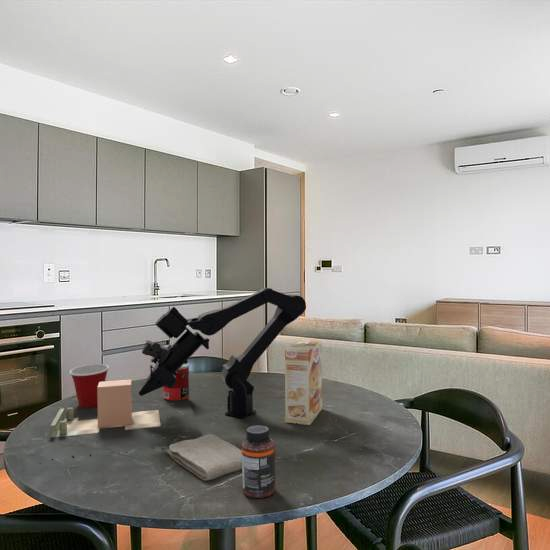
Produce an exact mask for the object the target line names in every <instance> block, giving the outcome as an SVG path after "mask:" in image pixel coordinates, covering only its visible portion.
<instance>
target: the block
mask: <svg viewBox="0 0 550 550" xmlns="http://www.w3.org/2000/svg"><path fill="white" fill-rule="evenodd" d="M132 388H133V387H132V379H121V380H120V379H119V380H118V379H117V380H108V381H106V380H105V381H104V382H99V384H98V387H97V396H98V406H97V419H98V427H107V426H117V425H127V424H132V412H133V411H132V410H133V407H132V406H133V405H132V404H133V403H132V401H133V400H132V399H133V398H132V392H133V391H132Z"/></svg>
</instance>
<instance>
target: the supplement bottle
mask: <svg viewBox="0 0 550 550" xmlns="http://www.w3.org/2000/svg"><path fill="white" fill-rule="evenodd" d="M275 448H276V447H275V442H274V440H273V439H272V438H270V429H269V427H268V426H265V425H251V426H249V427H248V428H247V429H246V438H245V439H244V440H243V441H242V444H241V450H242V469H241V470H242V472H241V475H242V476H241V482H242V485H241V487H242V492H243V494H244V495H245V496H247V497H249V498H254V499H263V498H266V497H269V496H271V495H272V494H274V492H275V491H276V458H275V457H276V455H275V454H276V452H275V451H276V450H275Z"/></svg>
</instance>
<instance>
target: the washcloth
mask: <svg viewBox="0 0 550 550" xmlns="http://www.w3.org/2000/svg"><path fill="white" fill-rule="evenodd" d="M168 448H169V449H167V454H168V455H170V456H169V457H170V458H171V459H173V461H175V462H176V463H178V464H179V465H180V466H182V467H183V468H185V469H186V470H188V471H190V472H191V473H192V474H194V475H195V476H196V477H198V478H200V479H201V480H202V481H211V480H215V479H217V478H220V477H222V476H224V475H227V474H230V473H233V472H234V473H235V472H239V471H240V470H242V449H240V448H238V447H236V446H235V445H234V444H231V443H230V442H228V441H226V440H223V438H220V437H219V436H217V435H215V434H212V433H209V434H204V435H201V436H200V437H197V438H194V439H185V440H181V441H178V442H173V443H171V444H170V445H169V446H168Z"/></svg>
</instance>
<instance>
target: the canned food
mask: <svg viewBox="0 0 550 550" xmlns="http://www.w3.org/2000/svg"><path fill="white" fill-rule="evenodd" d="M189 366H190V365H189V364H188V363H187V364H185V363H184V364H183V365H182V367H181V368H180V369H179V370H178V371H177V374H176V375H175V376H176V384H175V385H174V386H173V387H172V388H171V389H170V388H169V387H168V386H163V387H162V396H163V397H162V398H163V399H164V400H167V401H181V400H183V401H184V400H186V399H187V401H189V399H190V367H189Z"/></svg>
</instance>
